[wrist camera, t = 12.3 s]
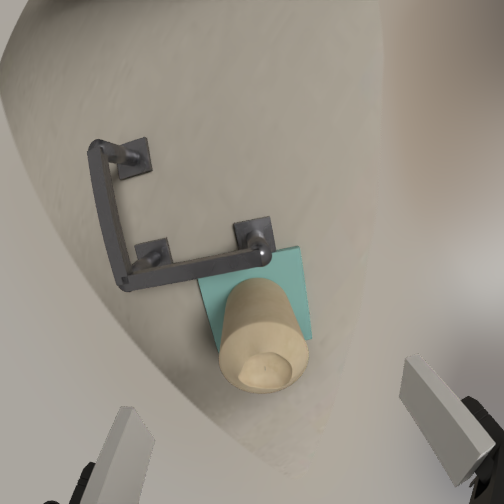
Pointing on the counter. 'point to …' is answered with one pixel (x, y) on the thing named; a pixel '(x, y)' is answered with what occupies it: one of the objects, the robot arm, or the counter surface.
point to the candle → (261, 338)
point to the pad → (278, 270)
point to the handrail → (157, 251)
